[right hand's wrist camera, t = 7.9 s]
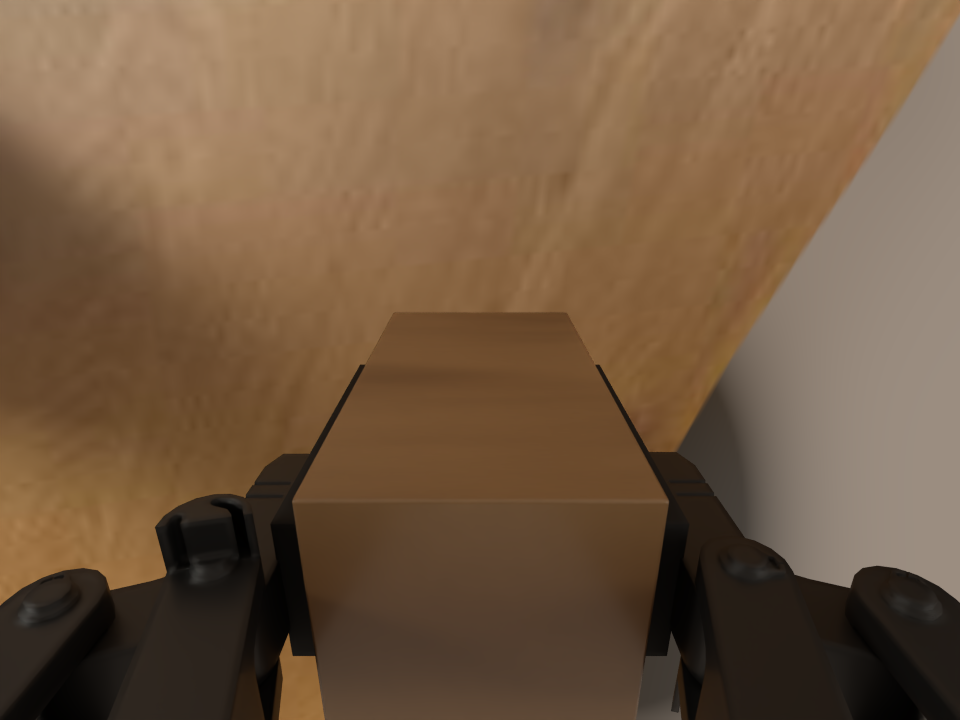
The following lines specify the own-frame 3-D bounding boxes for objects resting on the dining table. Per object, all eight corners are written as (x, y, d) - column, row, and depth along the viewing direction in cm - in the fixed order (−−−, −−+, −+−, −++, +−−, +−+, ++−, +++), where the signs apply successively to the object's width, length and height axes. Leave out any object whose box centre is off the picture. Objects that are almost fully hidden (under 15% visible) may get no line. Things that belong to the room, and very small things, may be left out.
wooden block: (558, 464, 17) (631, 757, 9) (402, 464, 17) (329, 757, 9) (567, 311, 15) (671, 500, 7) (393, 311, 15) (289, 500, 7)
